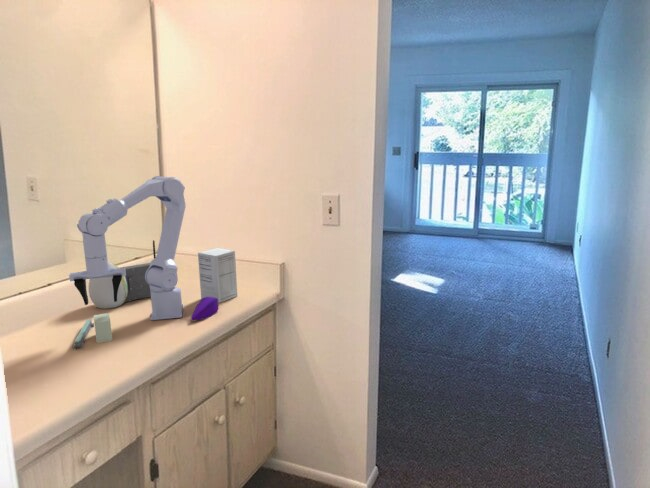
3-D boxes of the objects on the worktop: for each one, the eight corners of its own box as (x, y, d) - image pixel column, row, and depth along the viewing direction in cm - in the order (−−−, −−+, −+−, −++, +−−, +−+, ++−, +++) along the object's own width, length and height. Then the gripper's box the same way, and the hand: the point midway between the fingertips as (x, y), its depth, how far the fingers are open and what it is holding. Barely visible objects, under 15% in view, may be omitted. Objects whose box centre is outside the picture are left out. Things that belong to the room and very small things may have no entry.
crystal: (184, 311, 155) (208, 292, 169) (186, 326, 157) (210, 306, 170) (198, 312, 154) (221, 293, 167) (200, 327, 155) (223, 307, 169)
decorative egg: (136, 303, 176) (133, 260, 173) (104, 313, 166) (100, 268, 163) (115, 297, 182) (111, 256, 179) (82, 306, 172) (78, 263, 169)
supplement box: (220, 292, 187) (217, 247, 184) (238, 296, 182) (236, 250, 178) (200, 299, 179) (196, 252, 176) (218, 303, 174) (215, 255, 171)
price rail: (94, 325, 155) (93, 318, 155) (82, 348, 138) (81, 340, 137) (85, 326, 154) (84, 319, 154) (73, 349, 137) (72, 341, 137)
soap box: (112, 340, 143) (110, 320, 142) (96, 343, 142) (94, 322, 140) (110, 332, 149) (108, 313, 148) (95, 334, 148) (93, 315, 147)
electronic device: (160, 291, 189) (156, 238, 185) (168, 295, 184) (164, 240, 180) (112, 301, 177) (107, 244, 174) (119, 305, 172) (114, 247, 169)
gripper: (124, 251, 150) (128, 295, 153) (69, 255, 145) (75, 301, 148) (123, 256, 143) (127, 302, 146) (66, 261, 139) (72, 308, 141)
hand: (101, 302), depth 147 cm, fingers open, 7 cm apart
